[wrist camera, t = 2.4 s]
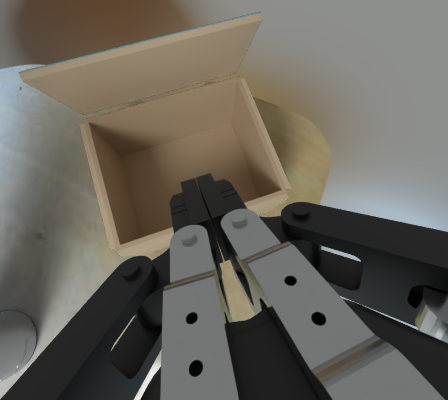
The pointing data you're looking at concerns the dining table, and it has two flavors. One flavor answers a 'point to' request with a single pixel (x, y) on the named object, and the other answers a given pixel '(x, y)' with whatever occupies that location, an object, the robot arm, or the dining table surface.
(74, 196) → the dining table surface
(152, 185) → the tan open box
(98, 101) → the wooden box lid
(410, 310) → the robot arm
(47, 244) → the dining table surface
